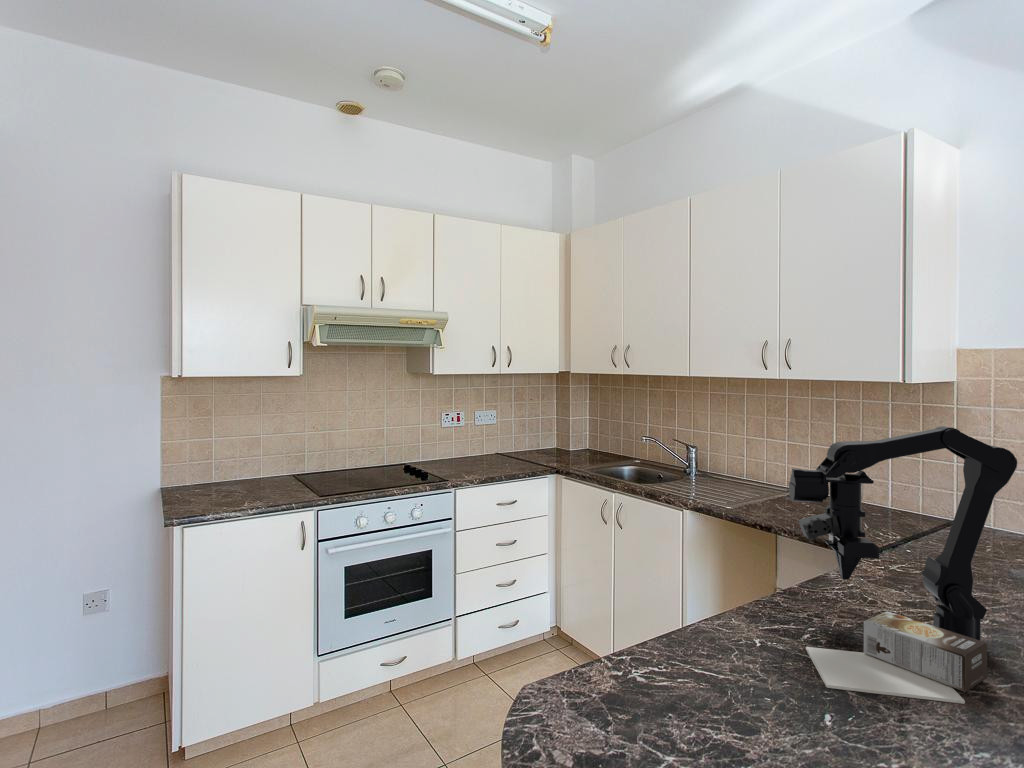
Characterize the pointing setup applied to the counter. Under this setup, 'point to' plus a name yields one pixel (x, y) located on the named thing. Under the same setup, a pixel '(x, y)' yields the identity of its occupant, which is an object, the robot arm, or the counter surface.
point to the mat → (876, 676)
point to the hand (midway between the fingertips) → (845, 579)
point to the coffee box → (926, 650)
